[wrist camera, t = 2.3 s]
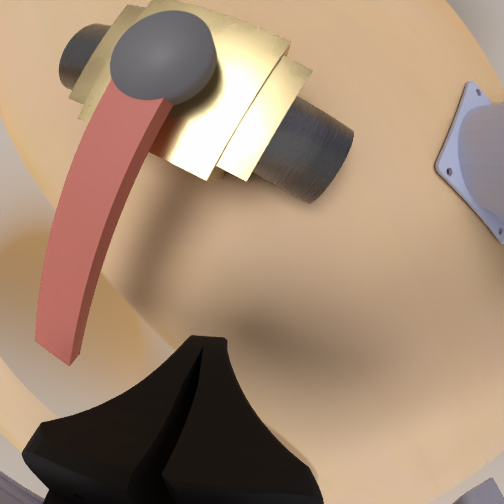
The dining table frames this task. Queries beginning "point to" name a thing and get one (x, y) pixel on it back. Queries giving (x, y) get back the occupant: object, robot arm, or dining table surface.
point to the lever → (115, 163)
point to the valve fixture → (226, 105)
